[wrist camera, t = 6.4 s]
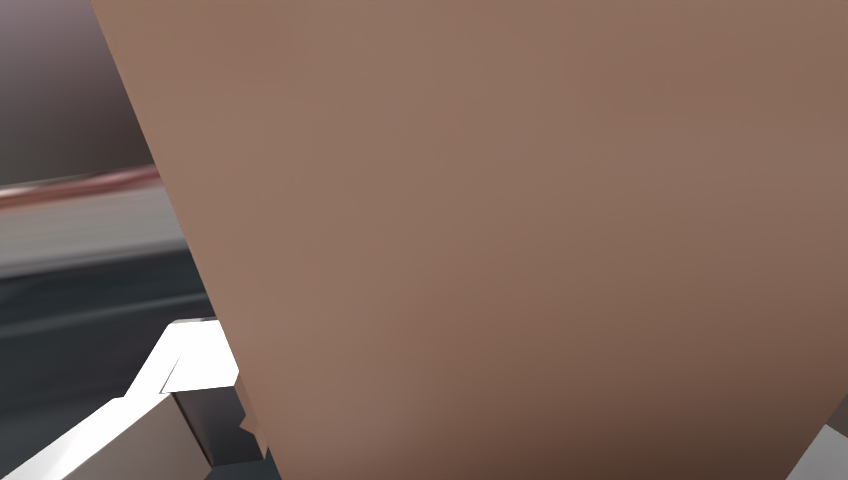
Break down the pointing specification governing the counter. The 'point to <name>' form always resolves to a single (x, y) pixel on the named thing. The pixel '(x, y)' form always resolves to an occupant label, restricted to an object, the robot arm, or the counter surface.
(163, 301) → the counter surface
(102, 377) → the counter surface
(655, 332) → the tan drink carton
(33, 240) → the counter surface
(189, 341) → the robot arm
